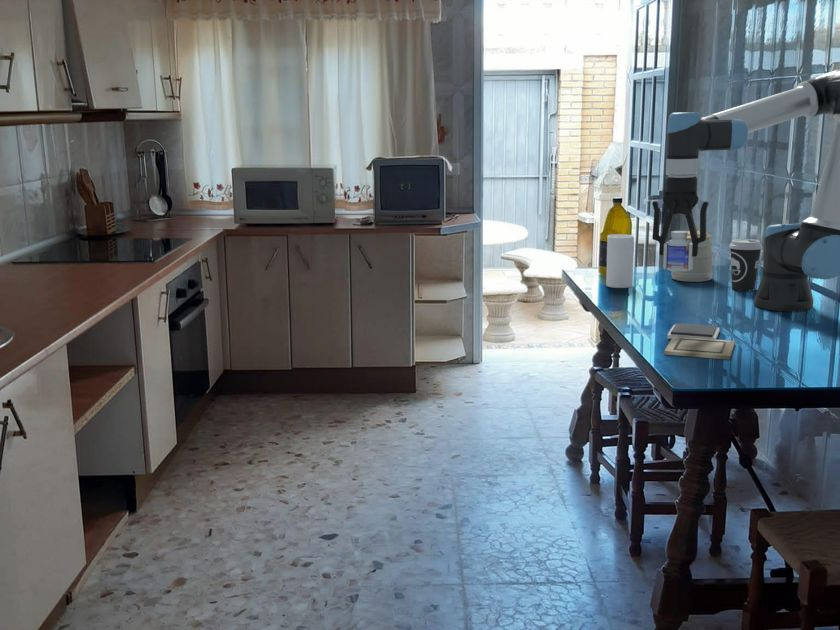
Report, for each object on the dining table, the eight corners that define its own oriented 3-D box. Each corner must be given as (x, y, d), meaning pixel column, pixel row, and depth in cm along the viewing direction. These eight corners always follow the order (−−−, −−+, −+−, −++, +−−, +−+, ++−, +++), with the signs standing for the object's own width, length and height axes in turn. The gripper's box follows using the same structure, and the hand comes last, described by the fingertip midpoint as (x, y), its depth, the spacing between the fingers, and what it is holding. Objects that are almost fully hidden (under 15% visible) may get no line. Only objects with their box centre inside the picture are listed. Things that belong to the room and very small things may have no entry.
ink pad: (719, 331, 213) (719, 325, 213) (714, 342, 203) (715, 335, 203) (673, 328, 217) (674, 322, 217) (667, 338, 208) (667, 332, 207)
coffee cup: (756, 293, 257) (759, 243, 254) (723, 290, 262) (725, 242, 259) (762, 287, 265) (765, 239, 262) (730, 285, 270) (733, 238, 267)
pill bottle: (689, 271, 214) (691, 233, 212) (667, 271, 215) (668, 233, 213) (687, 268, 219) (689, 230, 217) (666, 267, 221) (667, 230, 218)
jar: (717, 281, 276) (720, 227, 272) (677, 282, 277) (679, 228, 273) (705, 274, 289) (707, 222, 285) (666, 275, 289) (668, 223, 285)
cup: (636, 284, 276) (637, 234, 273) (627, 288, 269) (628, 238, 266) (611, 282, 280) (612, 233, 277) (602, 286, 274) (603, 236, 270)
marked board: (734, 344, 201) (735, 340, 201) (729, 359, 189) (729, 355, 188) (673, 339, 207) (673, 335, 206) (664, 354, 194) (664, 350, 194)
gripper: (722, 175, 212) (717, 268, 217) (646, 175, 219) (643, 264, 225) (718, 177, 205) (714, 273, 210) (640, 177, 213) (638, 269, 218)
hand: (677, 268), depth 217 cm, fingers closed on pill bottle, 5 cm apart
